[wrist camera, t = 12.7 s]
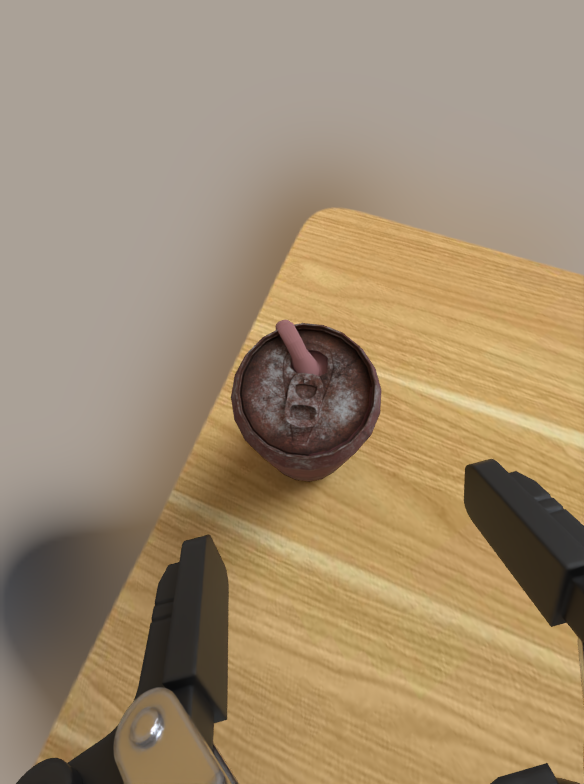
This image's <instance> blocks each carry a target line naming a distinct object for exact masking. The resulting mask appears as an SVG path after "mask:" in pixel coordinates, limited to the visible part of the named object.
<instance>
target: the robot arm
mask: <svg viewBox="0 0 584 784" xmlns="http://www.w3.org/2000/svg"><path fill="white" fill-rule="evenodd" d="M464 504H465V508H466V510H467V513H468V515H469V517H470V518H471V520H472V521H473V523H474V524H475V525H476V527H477V528H478V530H479V531H480V532H481V534H482V535H483V536H484V538H485V539H486V540H487V542H488V543H489V544H490V546H491V547H492V548H493V550H494V551H495V552H496V554H497V555H498V556H499V558H500V559H501V560H502V562H503V563H504V564H505V566H506V567H507V568H508V570H509V571H510V572H511V574H512V575H513V576H514V578H515V579H516V580H517V582H518V583H519V584H520V586H521V587H522V588H523V590H524V591H525V592H526V594H527V595H528V596H529V598H530V599H531V600H532V602H533V603H534V604H535V606H536V607H537V608H538V610H539V611H540V612H541V614H542V615H543V616H544V618H545V619H546V621H547V622H548V623H549V625H550V626H551V627H552V626H556V625H560V624H563V623H567V624H568V625H569V626H570V627H571V629H572V630H573V631H574V632H575V634H576V635H577V636H578V650H579V661H580V672H581V683H582V694H583V705H584V526H583V525H582V524H581V523H580V522H579V521H578V520H577V519H576V518H575V517H573V516H572V515H571V514H570V513H569V512H568V511H567V510H566V509H565V510H564V509H563V506H562V505H561V504H559V503H558V502H557V501H556V500H555V499H554V498H551V496H550V494H549V493H548V492H546V491H545V490H544V489H543V488H542V487H541V486H540V485H539V484H538V483H537V482H536V481H534V480H532V479H530V478H528V477H526V476H524V475H522V474H521V473H519V472H517V471H515V472H511V473H508V472H507V471H506V470H505V469H504V468H503V467H502V466H501V465H500V464H499V463H498V462H497V461H495V460H493V459H488V460H484V461H481V462H477V463H473V464H469V465H467V466H466V468H465V484H464ZM228 594H229V585H228V576H227V571H226V568H225V565H224V563H223V561H222V558H221V556H220V554H219V552H218V550H217V548H216V546H215V544H214V542H213V539H212V538H211V536H210V535H205V536H202V537H198V538H194V539H190V540H187V541H184V542H183V544H182V549H181V556H180V562H178V563H174V564H170V565H168V567H167V569H166V571H165V572H164V574H163V576H162V578H161V580H160V581H159V583H158V588H157V593H156V599H155V607H154V609H153V614H152V623H151V624H150V629H149V635H148V640H147V645H146V650H145V655H144V660H143V666H142V671H141V676H140V681H139V686H138V690H137V693H136V696H135V699H134V701H133V703H132V704H131V705H130V706H129V708H128V709H127V710H126V712H125V713H124V715H123V717H122V719H121V721H120V723H119V725H118V726H117V727H116V728H115V729H114V730H113V731H112V732H111V733H110V734H109V735H107V736H106V737H105V738H103V739H102V740H100V741H99V742H98V743H96V744H95V745H93V746H92V747H90V748H89V749H87V750H86V751H84V752H83V753H81V754H80V755H78V756H77V757H76V758H74V759H73V760H71V761H70V762H68V763H66V762H65V761H63V760H62V759H59V758H50V759H46V760H44V761H42V762H40V763H38V764H37V765H35V766H33V767H32V768H31V769H30V770H29V771H27V772H26V773H25V774H24V776H22V777H21V778H20V780H19V781H18V782H17V783H16V784H240V783H239V782H238V780H237V778H236V777H235V775H234V774H233V772H232V770H231V769H230V767H229V766H228V764H227V763H226V761H225V759H224V758H223V756H222V755H221V753H220V751H219V750H218V748H217V747H216V745H215V744H214V742H213V730H214V723H217V722H220V721H224V720H227V685H228ZM583 769H584V746H583ZM491 784H580V783H577V782H573V781H570V780H566V779H562V778H555V776H554V774H553V772H552V771H551V769H550V767H549V765H548V763H546V764H543V765H539V766H536V767H532V768H529V769H525V770H522V771H519V772H515V773H512V774H508V775H505V776H501V777H498V778H497V779H496V780H494V781H493V782H492V783H491Z"/></svg>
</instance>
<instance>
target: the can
mask: <svg viewBox="0 0 584 784" xmlns="http://www.w3.org/2000/svg"><path fill="white" fill-rule="evenodd" d="M231 400H232V407H233V413H234V420H235V422H236V423H237V425H238V427H239V429H240V431H241V433H242V435H243V437H244V439H245V441H247V442H248V443H249V444H250V445H251V446H252V447H253V448H254V449H255V450H256V451H257V452H258V453H259V454H260V455H261V456H262V457H263V458H265V459H266V460H267V461H268V462H269V463H271V464H272V465H273V466H274V467H276V468H277V469H278V470H279V471H280V472H282V473H283V474H284V475H287V476H289V477H291V478H293V479H295V480H301V481H314V480H319V479H323V478H324V477H326V476H328V475H330V474H331V473H333V472H334V471H336V470H337V469H338V468H339V467H340V466H341V465H342V464H343V463H345V462H346V461H347V460H348V459H349V458H350V457H351V456H352V455H354V454H355V453H356V452H357V450H358V449H359V448H360V447H361V446H362V445H363V444H364V442H365V441H366V440H367V439H368V438H369V437H370V436H371V434H372V431H373V429H374V427H375V424H376V422H377V419H378V417H379V414H380V404H381V387H380V384H379V380H378V376H377V373H376V369H375V367H374V366H373V364H372V363H371V361H370V360H369V358H368V357H367V355H366V354H365V352H364V351H363V349H362V348H360V346H359V345H357V344H356V343H355V342H354V341H352V340H351V339H350V338H349V337H347V336H346V335H345V334H344V333H342V332H339V331H337V330H334V329H332V328H329V327H327V326H324V325H316V324H305V323H301V324H296V325H294V324H293V323H292V322H290V321H289V320H282V321H279V322H278V323H277V324H276V331H274V332H272V333H270V334H268V335H266V336H264V337H263V338H262V339H261V340H260V341H259V342H258V343H257V344H256V345H255V346H254V347H253V348H252V349H251V350H250V351H249V352H248V353H247V354H246V355H245V357H244V359H243V361H242V362H241V364H240V366H239V368H238V370H237V372H236V374H235V377H234V383H233V389H232V395H231Z"/></svg>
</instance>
